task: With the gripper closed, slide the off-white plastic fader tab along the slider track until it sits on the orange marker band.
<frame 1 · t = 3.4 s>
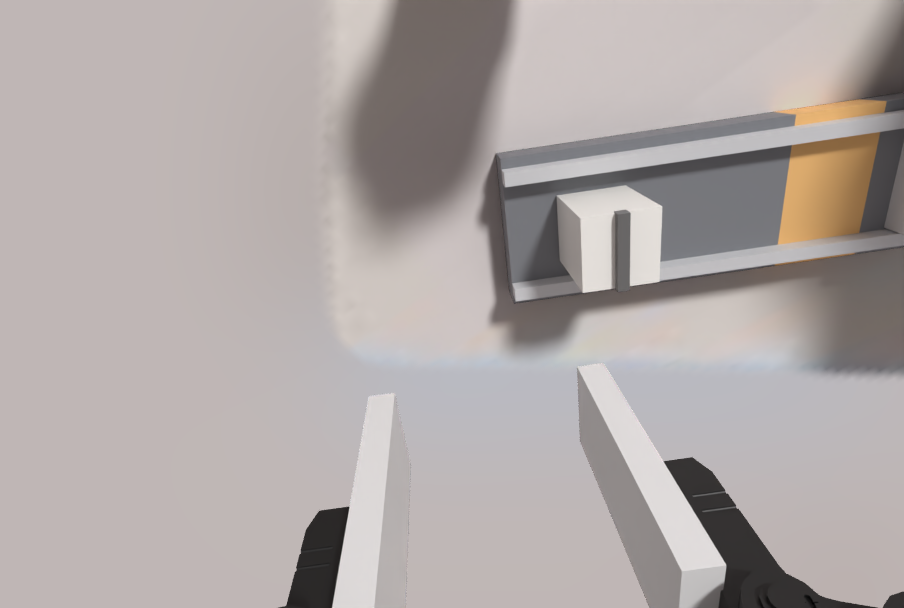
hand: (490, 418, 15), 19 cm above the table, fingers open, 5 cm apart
fader tab: (606, 237, 28), point 5 cm above the table, slide at 0.0 cm
slider track: (716, 194, 32), on the table
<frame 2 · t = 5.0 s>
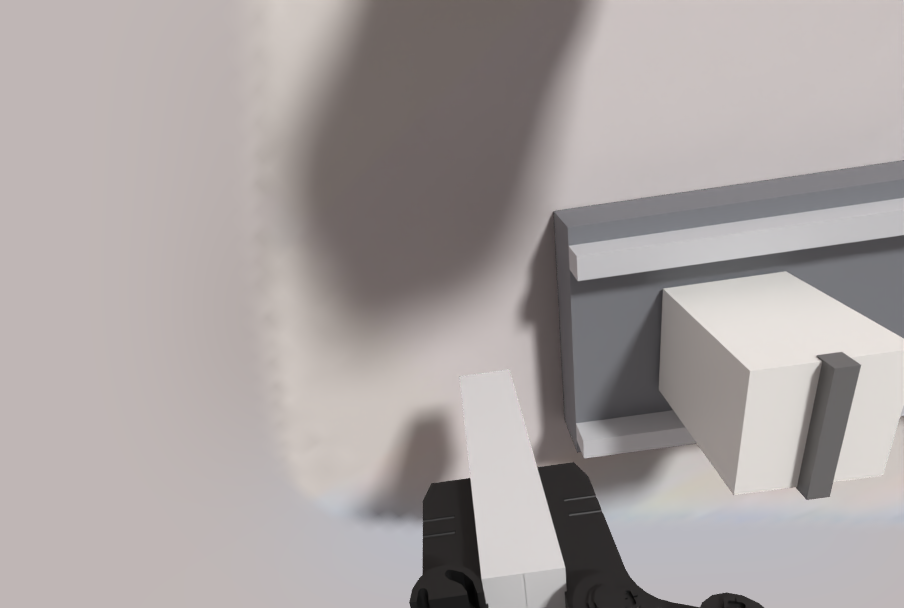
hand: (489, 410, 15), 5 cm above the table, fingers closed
fader tab: (766, 376, 15), point 5 cm above the table, slide at 0.0 cm
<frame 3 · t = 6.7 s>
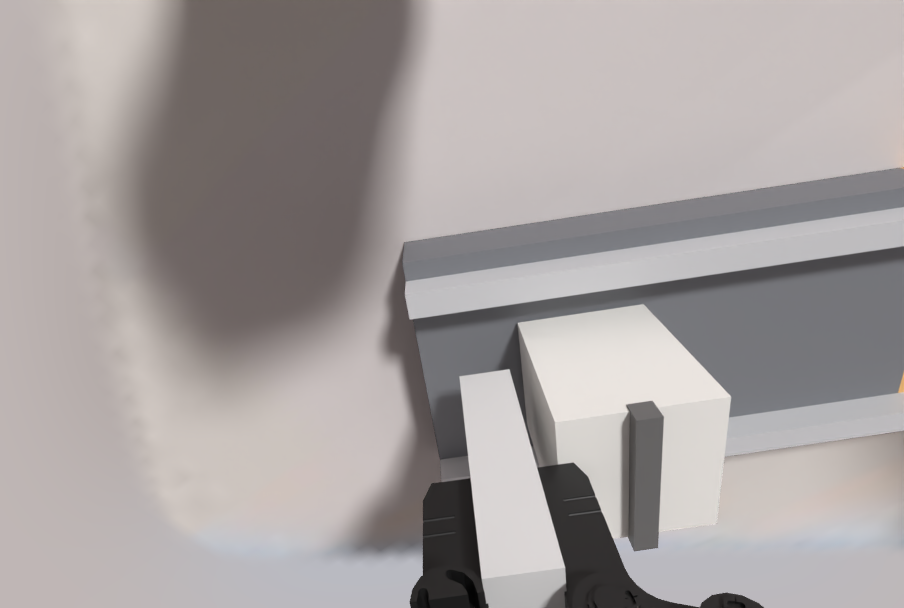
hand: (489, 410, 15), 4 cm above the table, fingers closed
fader tab: (609, 417, 14), point 5 cm above the table, slide at 0.2 cm
slider track: (789, 304, 19), on the table
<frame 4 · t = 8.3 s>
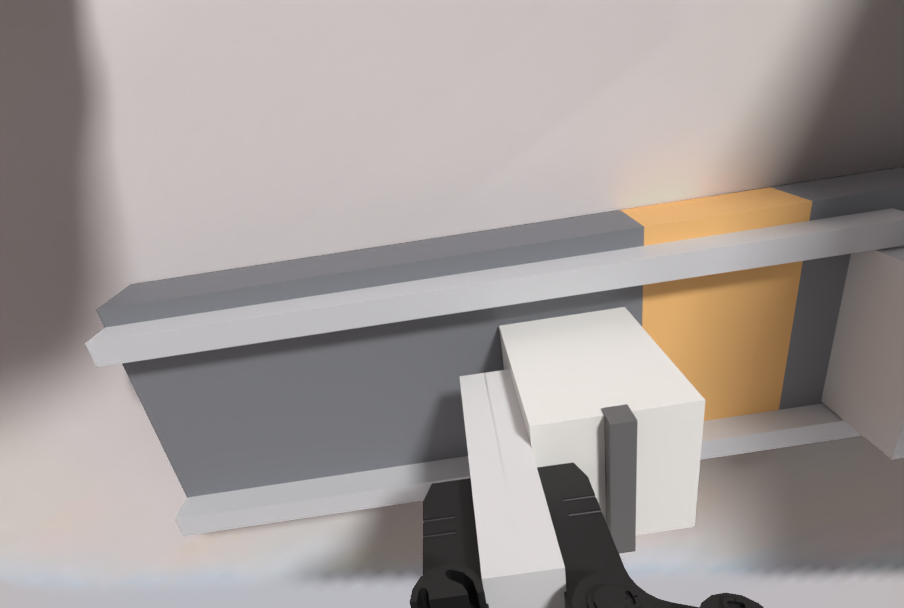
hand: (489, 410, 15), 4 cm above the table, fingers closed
fader tab: (589, 420, 14), point 5 cm above the table, slide at 8.9 cm, touching gripper
slider track: (539, 341, 19), on the table
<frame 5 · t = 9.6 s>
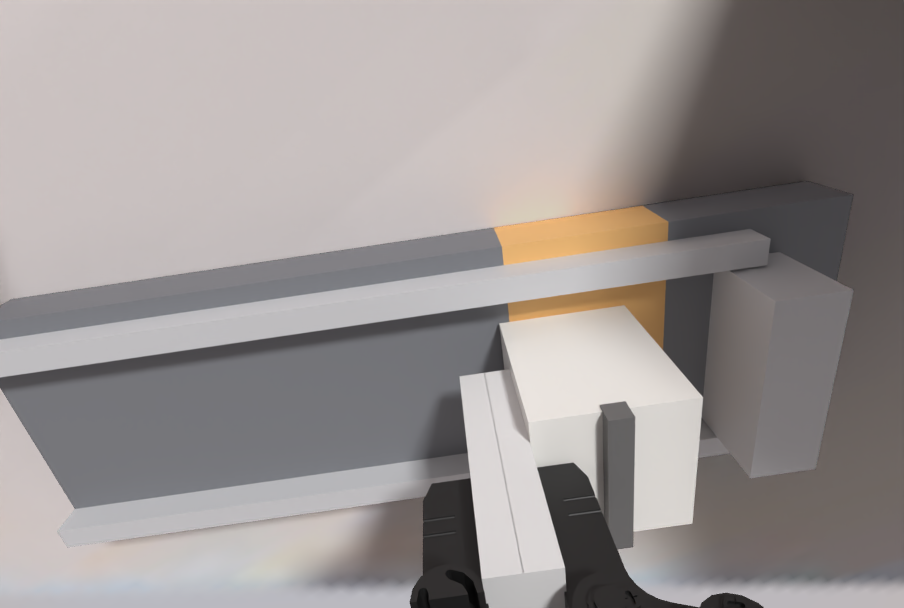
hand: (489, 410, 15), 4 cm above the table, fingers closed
fader tab: (588, 417, 14), point 5 cm above the table, slide at 13.2 cm, touching gripper
slider track: (426, 355, 19), on the table
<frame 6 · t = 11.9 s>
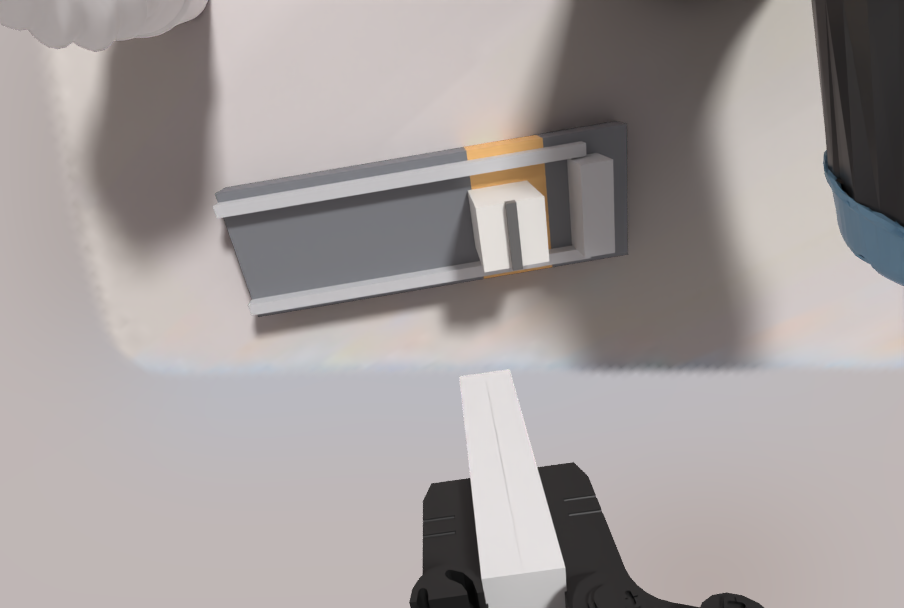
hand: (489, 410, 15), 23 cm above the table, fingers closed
fader tab: (507, 225, 32), point 5 cm above the table, slide at 13.2 cm
slider track: (431, 218, 36), on the table
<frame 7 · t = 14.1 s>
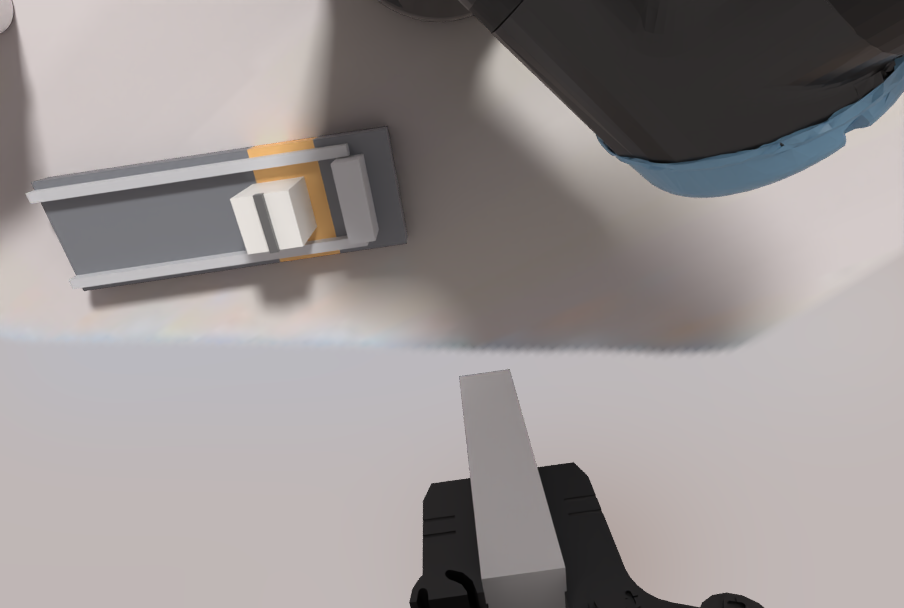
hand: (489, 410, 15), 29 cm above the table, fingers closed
fader tab: (276, 214, 37), point 5 cm above the table, slide at 13.2 cm
slider track: (235, 207, 42), on the table
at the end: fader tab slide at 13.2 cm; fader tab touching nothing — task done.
